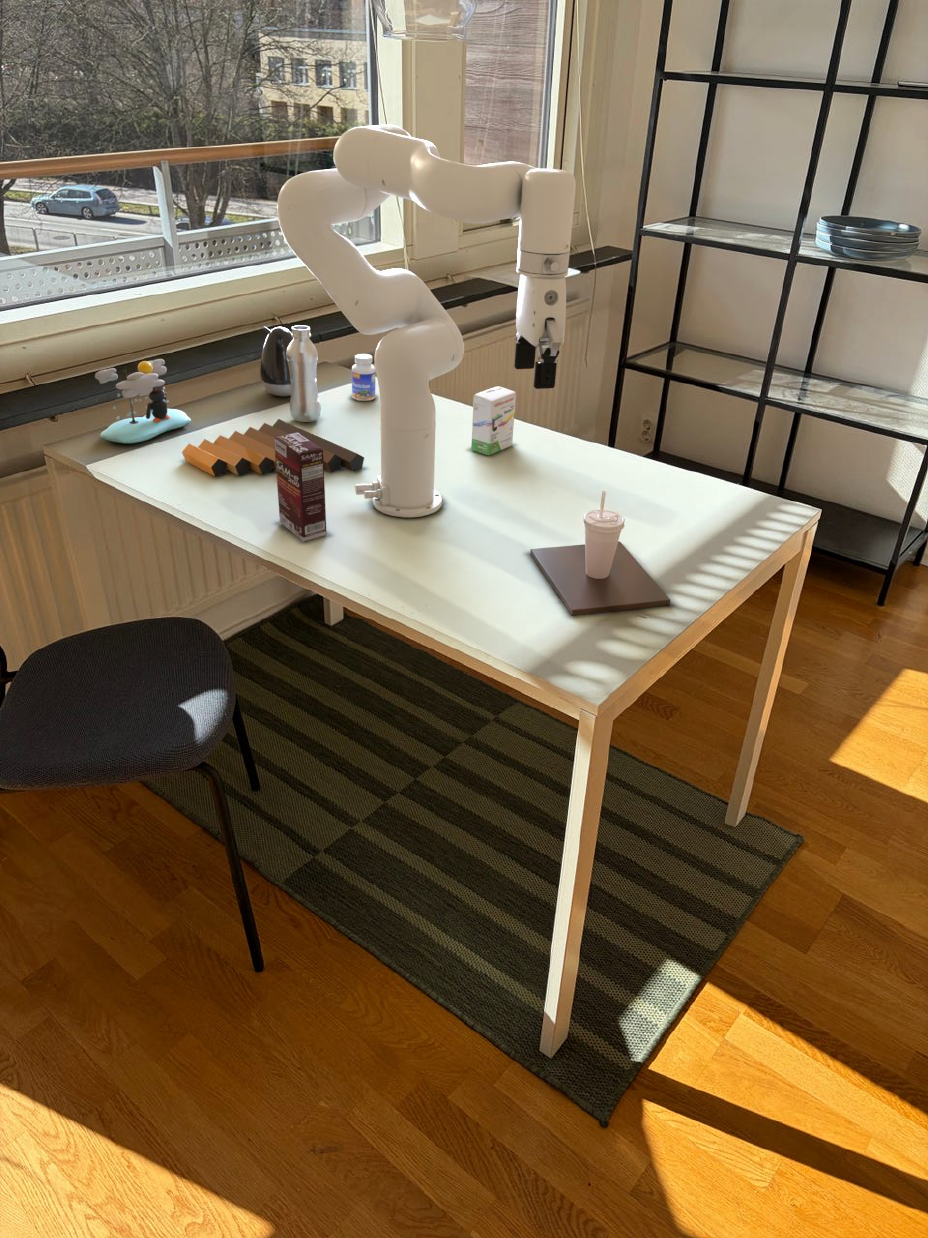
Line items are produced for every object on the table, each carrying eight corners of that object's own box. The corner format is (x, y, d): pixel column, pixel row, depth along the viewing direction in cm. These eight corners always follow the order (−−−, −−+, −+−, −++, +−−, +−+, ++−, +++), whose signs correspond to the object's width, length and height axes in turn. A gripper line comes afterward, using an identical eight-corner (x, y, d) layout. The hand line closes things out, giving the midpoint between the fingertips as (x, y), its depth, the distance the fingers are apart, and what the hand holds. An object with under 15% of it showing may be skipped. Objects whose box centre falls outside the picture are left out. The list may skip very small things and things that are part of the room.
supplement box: (278, 523, 165) (272, 436, 157) (302, 517, 168) (298, 430, 159) (302, 543, 159) (298, 453, 151) (328, 536, 162) (324, 447, 154)
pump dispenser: (282, 382, 230) (278, 318, 222) (314, 392, 225) (311, 326, 217) (251, 393, 223) (246, 327, 215) (283, 403, 218) (279, 335, 210)
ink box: (488, 456, 195) (492, 400, 189) (469, 450, 198) (472, 394, 192) (513, 445, 201) (517, 390, 195) (494, 439, 204) (498, 384, 197)
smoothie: (579, 561, 156) (588, 481, 148) (618, 566, 155) (630, 486, 147) (575, 580, 150) (584, 498, 143) (616, 585, 149) (627, 503, 142)
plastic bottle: (319, 425, 206) (315, 332, 196) (287, 424, 206) (282, 330, 196) (323, 415, 212) (319, 324, 201) (292, 414, 212) (287, 322, 201)
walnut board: (571, 615, 143) (572, 610, 142) (530, 554, 159) (530, 548, 159) (669, 605, 147) (670, 599, 146) (619, 546, 163) (619, 541, 162)
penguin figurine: (169, 413, 209) (161, 344, 201) (202, 425, 204) (195, 354, 196) (90, 438, 195) (78, 364, 187) (123, 451, 190) (112, 376, 182)
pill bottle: (349, 400, 221) (348, 358, 216) (355, 392, 226) (354, 351, 221) (372, 402, 220) (371, 360, 215) (377, 395, 225) (377, 353, 220)
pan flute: (364, 467, 188) (286, 432, 202) (364, 451, 186) (285, 416, 200) (259, 502, 172) (182, 462, 186) (258, 485, 170) (180, 445, 185)
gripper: (588, 275, 133) (576, 394, 142) (547, 250, 148) (539, 360, 156) (537, 276, 132) (528, 397, 141) (501, 250, 146) (495, 362, 155)
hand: (533, 377), depth 149 cm, fingers open, 9 cm apart
